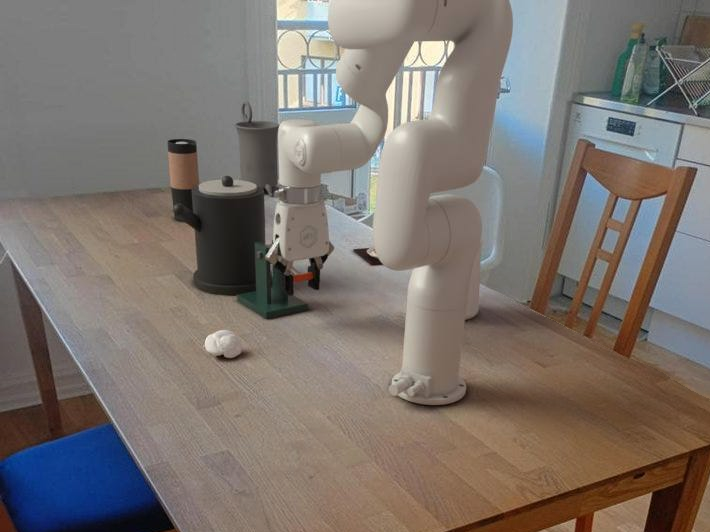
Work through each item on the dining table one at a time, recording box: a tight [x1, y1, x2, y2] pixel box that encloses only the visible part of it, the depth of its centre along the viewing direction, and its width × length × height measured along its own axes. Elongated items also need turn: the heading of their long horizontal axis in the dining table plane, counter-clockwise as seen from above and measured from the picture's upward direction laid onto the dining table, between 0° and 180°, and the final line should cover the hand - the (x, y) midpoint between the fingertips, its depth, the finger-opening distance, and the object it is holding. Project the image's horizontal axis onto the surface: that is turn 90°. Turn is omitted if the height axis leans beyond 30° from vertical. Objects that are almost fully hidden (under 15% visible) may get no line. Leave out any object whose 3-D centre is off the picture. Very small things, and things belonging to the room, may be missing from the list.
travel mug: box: [167, 138, 200, 223], centre depth 213 cm, size 8×8×20 cm
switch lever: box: [265, 243, 314, 284], centre depth 155 cm, size 13×5×2 cm, turn 36°
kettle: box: [172, 175, 267, 296], centre depth 169 cm, size 20×21×23 cm
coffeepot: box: [465, 238, 484, 321], centre depth 159 cm, size 11×25×19 cm, turn 168°
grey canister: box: [234, 100, 280, 197], centre depth 243 cm, size 19×15×25 cm
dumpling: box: [202, 329, 243, 359], centre depth 141 cm, size 7×5×4 cm
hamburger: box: [352, 246, 383, 266], centre depth 194 cm, size 12×12×6 cm
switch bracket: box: [236, 239, 309, 320], centre depth 160 cm, size 12×10×13 cm
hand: (300, 290), depth 153 cm, fingers closed on switch lever, 5 cm apart
